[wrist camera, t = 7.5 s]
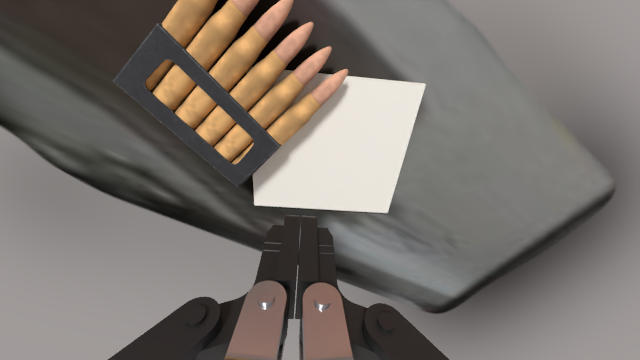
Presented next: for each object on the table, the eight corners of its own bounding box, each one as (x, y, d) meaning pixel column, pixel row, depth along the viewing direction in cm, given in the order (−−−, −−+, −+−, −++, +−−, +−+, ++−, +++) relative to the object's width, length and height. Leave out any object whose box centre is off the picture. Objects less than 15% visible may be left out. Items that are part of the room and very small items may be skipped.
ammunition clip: (245, 178, 21) (354, 80, 17) (238, 188, 19) (358, 82, 15) (132, 78, 17) (239, -75, 13) (111, 80, 15) (227, -94, 12)
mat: (255, 202, 23) (254, 205, 22) (247, 66, 17) (246, 66, 16) (386, 210, 24) (387, 213, 23) (423, 83, 18) (425, 84, 17)
